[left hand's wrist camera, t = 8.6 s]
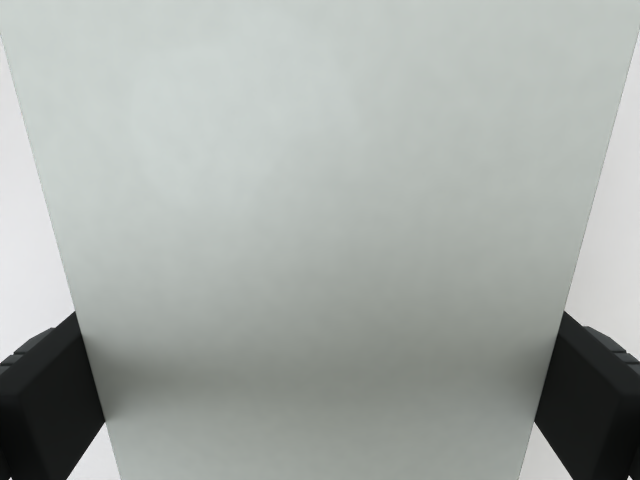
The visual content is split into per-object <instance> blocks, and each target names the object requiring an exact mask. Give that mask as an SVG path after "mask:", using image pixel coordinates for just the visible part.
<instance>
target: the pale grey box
mask: <svg viewBox="0 0 640 480" xmlns="http://www.w3.org/2000/svg"><path fill="white" fill-rule="evenodd" d="M639 29H640V0H0V35H1V38H2V42H3V46H4V49H5V53H6V57H7V60H8V64H9V68H10V72H11V75H12V79H13V83H14V86H15V90H16V94H17V97H18V101H19V105H20V108H21V112H22V116H23V120H24V123H25V127H26V131H27V134H28V138H29V142H30V145H31V149H32V153H33V156H34V160H35V164H36V168H37V171H38V175H39V179H40V182H41V186H42V190H43V193H44V197H45V201H46V204H47V208H48V212H49V216H50V219H51V223H52V227H53V230H54V234H55V238H56V241H57V245H58V249H59V252H60V256H61V260H62V264H63V267H64V271H65V275H66V278H67V282H68V286H69V289H70V293H71V297H72V300H73V304H74V308H75V311H76V315H77V319H78V323H79V326H80V330H81V334H82V337H83V341H84V345H85V348H86V352H87V356H88V359H89V363H90V367H91V371H92V374H93V378H94V382H95V385H96V389H97V393H98V396H99V400H100V404H101V407H102V411H103V415H104V419H105V422H106V426H107V430H108V433H109V437H110V441H111V444H112V448H113V452H114V455H115V459H116V463H117V467H118V470H119V474H120V478H121V480H518V479H519V475H520V471H521V468H522V464H523V460H524V456H525V453H526V449H527V445H528V442H529V438H530V434H531V430H532V427H533V423H534V419H535V416H536V412H537V408H538V404H539V401H540V397H541V393H542V390H543V386H544V382H545V378H546V375H547V371H548V367H549V364H550V360H551V356H552V352H553V349H554V345H555V341H556V338H557V334H558V330H559V326H560V323H561V319H562V315H563V312H564V308H565V304H566V300H567V297H568V293H569V289H570V286H571V282H572V278H573V274H574V271H575V267H576V263H577V260H578V256H579V252H580V248H581V245H582V241H583V237H584V234H585V230H586V226H587V222H588V219H589V215H590V211H591V208H592V204H593V200H594V196H595V193H596V189H597V185H598V182H599V178H600V174H601V170H602V167H603V163H604V159H605V156H606V152H607V148H608V144H609V141H610V137H611V133H612V130H613V126H614V122H615V118H616V115H617V111H618V107H619V104H620V100H621V96H622V92H623V89H624V85H625V81H626V78H627V74H628V70H629V66H630V63H631V59H632V55H633V52H634V48H635V44H636V40H637V37H638V33H639Z"/></svg>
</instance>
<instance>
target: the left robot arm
mask: <svg viewBox="0 0 640 480" xmlns="http://www.w3.org/2000/svg"><path fill="white" fill-rule="evenodd" d="M534 422H535V423H536V425H537V426H538V428H539V429H540V431H541V432H542V434H543V435H544V437H545V438H546V440H547V441H548V443H549V444H550V446H551V447H552V449H553V450H554V452H555V453H556V455H557V456H558V458H559V459H560V461H561V462H562V464H563V465H564V467H565V468H566V470H567V471H568V473H569V474H570V476H571V477H572V479H573V480H627V479H628V476H630V477H631V478H632V479H633V480H640V362H639V361H638V360H637V359H636V358H634V357H633V356H632V355H631V354H630V353H626V350H625V349H623V348H622V347H621V346H620V345H618V344H617V343H616V342H615V341H614V340H612V339H611V338H610V337H608V336H606V335H604V334H602V333H600V332H598V331H597V330H595V329H593V328H591V327H589V326H581V325H580V324H579V323H578V322H577V321H576V320H574V319H573V318H572V317H571V316H570V315H569V314H567V313H566V312H565V311H564V312H563V315H562V319H561V323H560V326H559V330H558V334H557V338H556V341H555V345H554V349H553V352H552V356H551V360H550V364H549V367H548V371H547V375H546V378H545V382H544V386H543V390H542V393H541V397H540V401H539V404H538V408H537V412H536V416H535V419H534ZM104 423H105V419H104V415H103V411H102V407H101V404H100V400H99V396H98V393H97V389H96V385H95V382H94V378H93V374H92V371H91V367H90V363H89V359H88V356H87V352H86V348H85V345H84V341H83V337H82V334H81V330H80V326H79V323H78V319H77V315H76V311H74V312H73V313H72V314H71V315H70V316H69V317H67V318H66V319H65V320H64V321H63V322H62V323H60V324H59V325H58V326H57V327H56V328H50V329H48V330H46V331H44V332H42V333H40V334H38V335H37V336H35V337H33V338H31V339H29V340H28V341H27V342H26V343H24V344H23V345H22V346H21V347H20V348H18V349H17V350H16V351H15V352H14V354H13V355H10V356H9V357H7V358H6V359H5V360H4V361H2V362H1V363H0V480H9V479H10V477H11V478H12V480H66V479H67V478H68V476H69V475H70V473H71V472H72V470H73V469H74V467H75V466H76V464H77V463H78V461H79V460H80V458H81V457H82V456H83V454H84V453H85V451H86V450H87V448H88V447H89V445H90V444H91V442H92V441H93V439H94V438H95V436H96V435H97V433H98V432H99V430H100V429H101V427H102V426H103V424H104Z"/></svg>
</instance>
